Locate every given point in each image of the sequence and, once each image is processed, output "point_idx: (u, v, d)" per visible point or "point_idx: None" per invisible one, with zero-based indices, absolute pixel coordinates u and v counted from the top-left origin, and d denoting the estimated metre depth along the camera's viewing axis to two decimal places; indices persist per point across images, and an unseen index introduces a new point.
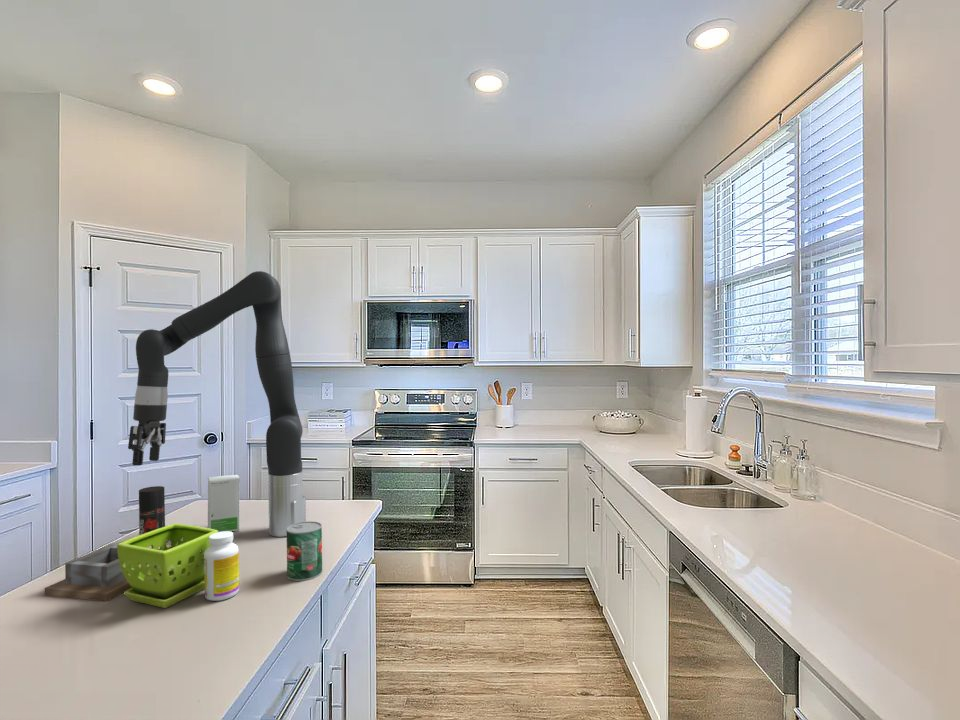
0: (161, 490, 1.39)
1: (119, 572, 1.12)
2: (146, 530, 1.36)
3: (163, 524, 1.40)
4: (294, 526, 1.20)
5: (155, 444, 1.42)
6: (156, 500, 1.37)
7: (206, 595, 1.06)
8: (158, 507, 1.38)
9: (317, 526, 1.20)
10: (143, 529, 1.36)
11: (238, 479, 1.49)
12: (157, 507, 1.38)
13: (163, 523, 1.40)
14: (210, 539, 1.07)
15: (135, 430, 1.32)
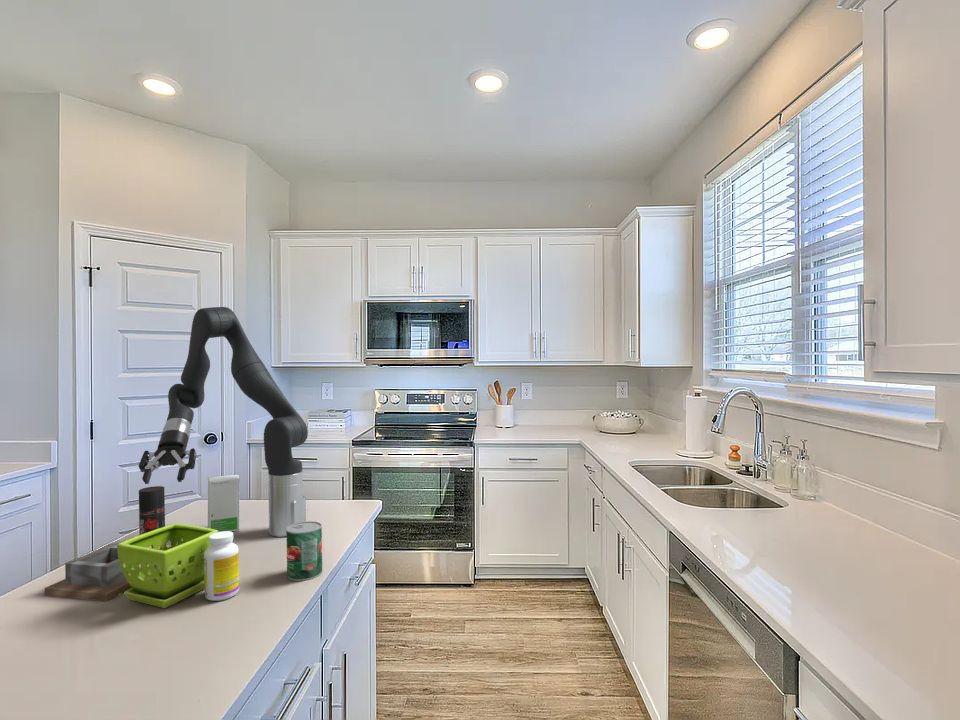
0: (161, 490, 1.39)
1: (119, 572, 1.12)
2: (146, 530, 1.36)
3: (163, 524, 1.40)
4: (294, 526, 1.20)
5: None
6: (156, 500, 1.37)
7: (206, 595, 1.06)
8: (158, 507, 1.38)
9: (317, 526, 1.20)
10: (143, 529, 1.36)
11: (238, 479, 1.49)
12: (157, 507, 1.38)
13: (163, 523, 1.40)
14: (210, 539, 1.07)
15: None
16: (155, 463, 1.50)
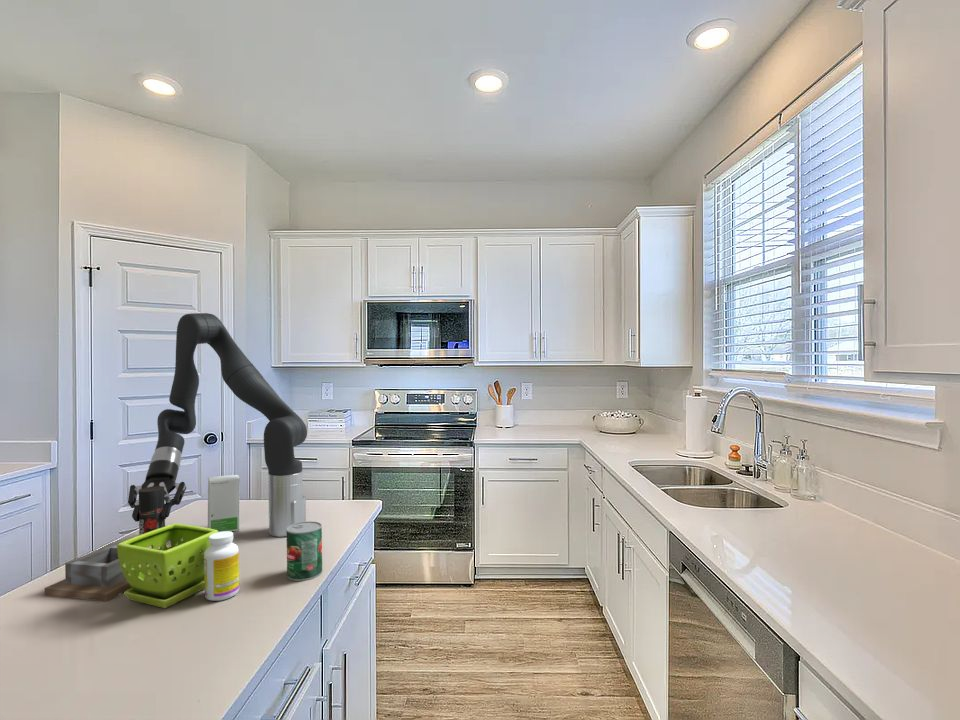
0: (161, 490, 1.39)
1: (119, 572, 1.12)
2: (146, 530, 1.36)
3: (163, 524, 1.40)
4: (294, 526, 1.20)
5: None
6: (156, 500, 1.37)
7: (206, 595, 1.06)
8: (158, 507, 1.38)
9: (317, 526, 1.20)
10: (143, 529, 1.36)
11: (238, 479, 1.49)
12: (157, 507, 1.38)
13: (163, 523, 1.40)
14: (210, 539, 1.07)
15: None
16: None
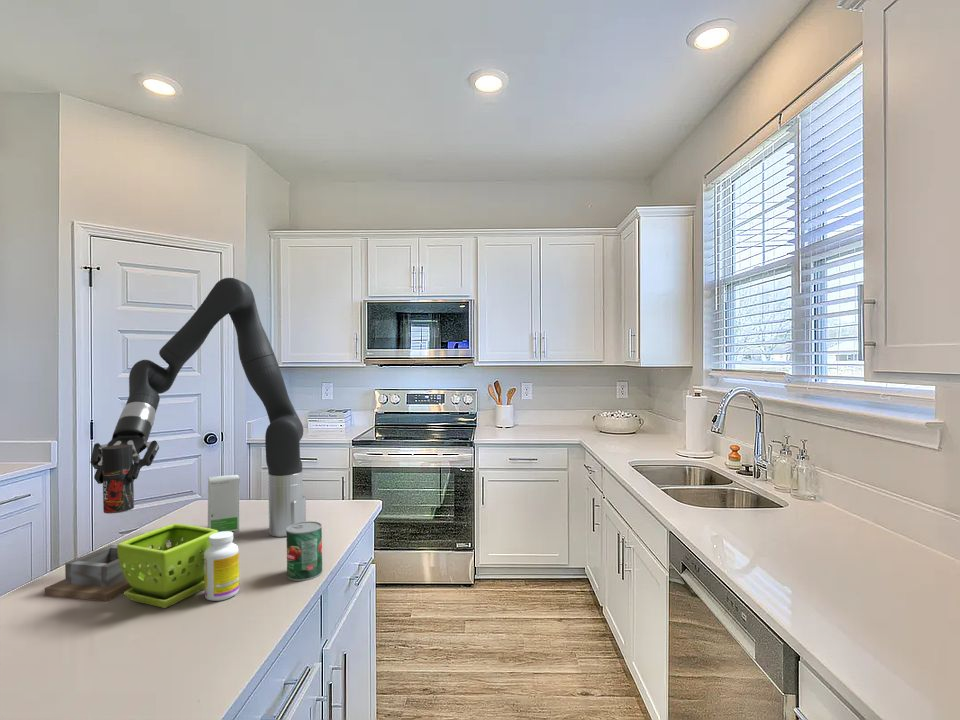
0: (128, 448, 1.21)
1: (119, 572, 1.12)
2: (110, 494, 1.18)
3: (131, 487, 1.21)
4: (294, 526, 1.20)
5: None
6: (121, 459, 1.19)
7: (206, 595, 1.06)
8: (124, 467, 1.20)
9: (317, 526, 1.20)
10: (107, 492, 1.18)
11: (238, 479, 1.49)
12: (123, 467, 1.20)
13: (131, 486, 1.21)
14: (210, 539, 1.07)
15: None
16: None
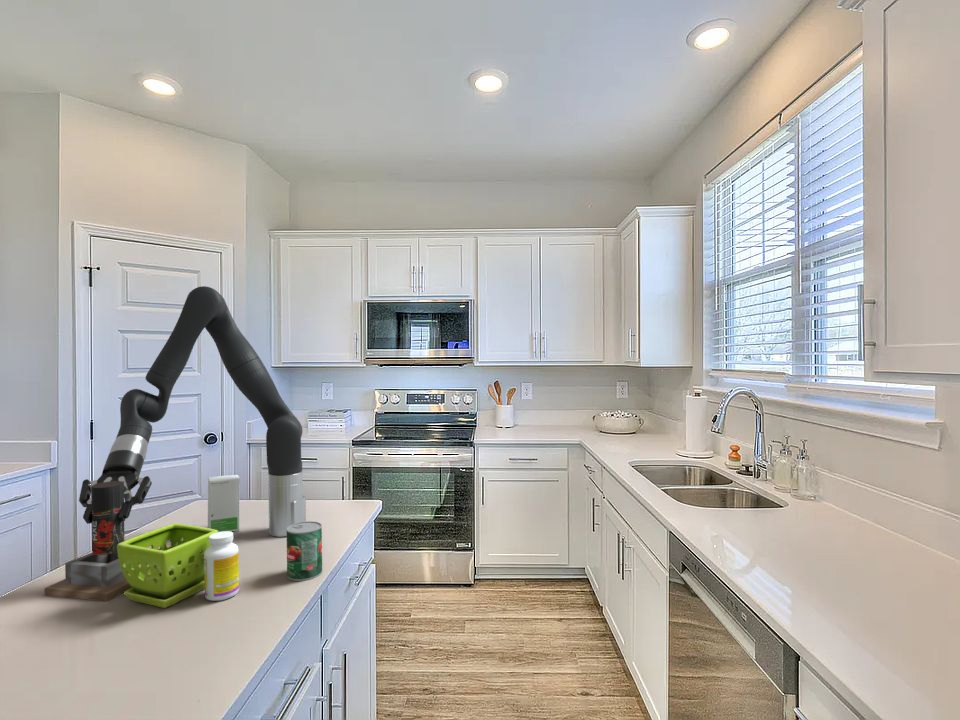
0: (119, 486, 1.15)
1: (119, 572, 1.12)
2: (100, 534, 1.13)
3: (121, 527, 1.16)
4: (294, 526, 1.20)
5: None
6: (112, 498, 1.14)
7: (206, 595, 1.06)
8: (115, 506, 1.14)
9: (317, 526, 1.20)
10: (96, 533, 1.13)
11: (238, 479, 1.49)
12: (114, 506, 1.14)
13: (121, 525, 1.16)
14: (210, 539, 1.07)
15: None
16: None
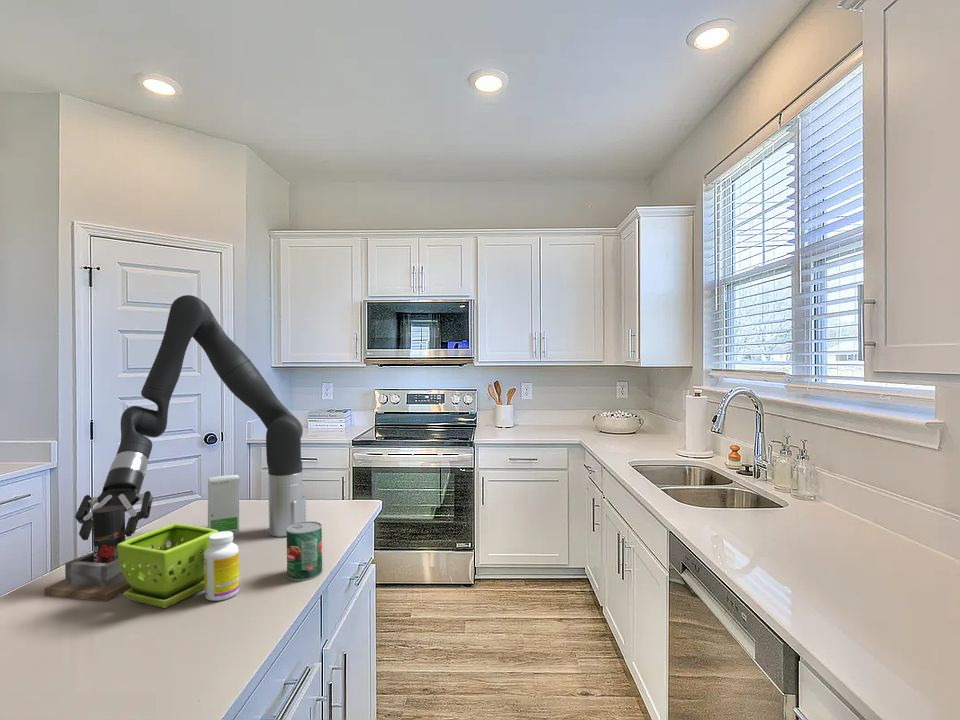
0: (120, 510, 1.15)
1: (119, 572, 1.12)
2: (101, 559, 1.13)
3: None
4: (294, 526, 1.20)
5: None
6: (113, 522, 1.14)
7: (206, 595, 1.06)
8: (116, 531, 1.15)
9: (317, 526, 1.20)
10: (97, 558, 1.13)
11: (238, 479, 1.49)
12: (114, 531, 1.14)
13: None
14: (210, 539, 1.07)
15: None
16: None
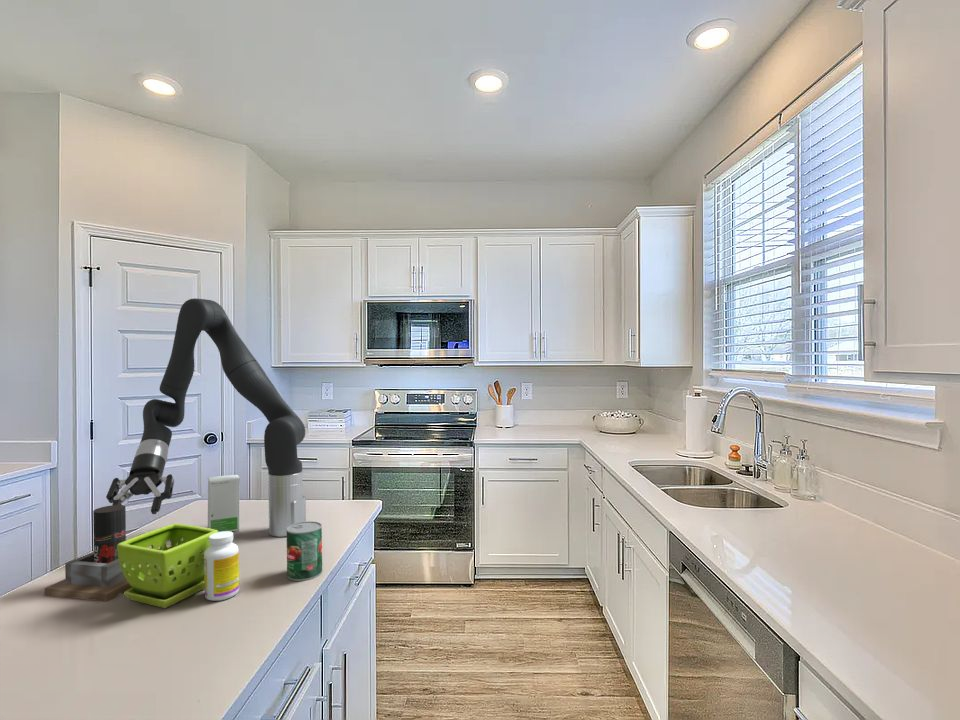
0: (120, 510, 1.15)
1: (119, 572, 1.12)
2: (101, 559, 1.13)
3: None
4: (294, 526, 1.20)
5: None
6: (113, 523, 1.14)
7: (206, 595, 1.06)
8: (116, 531, 1.15)
9: (317, 526, 1.20)
10: (98, 558, 1.13)
11: (238, 479, 1.49)
12: (115, 531, 1.14)
13: None
14: (210, 539, 1.07)
15: None
16: (126, 493, 1.31)
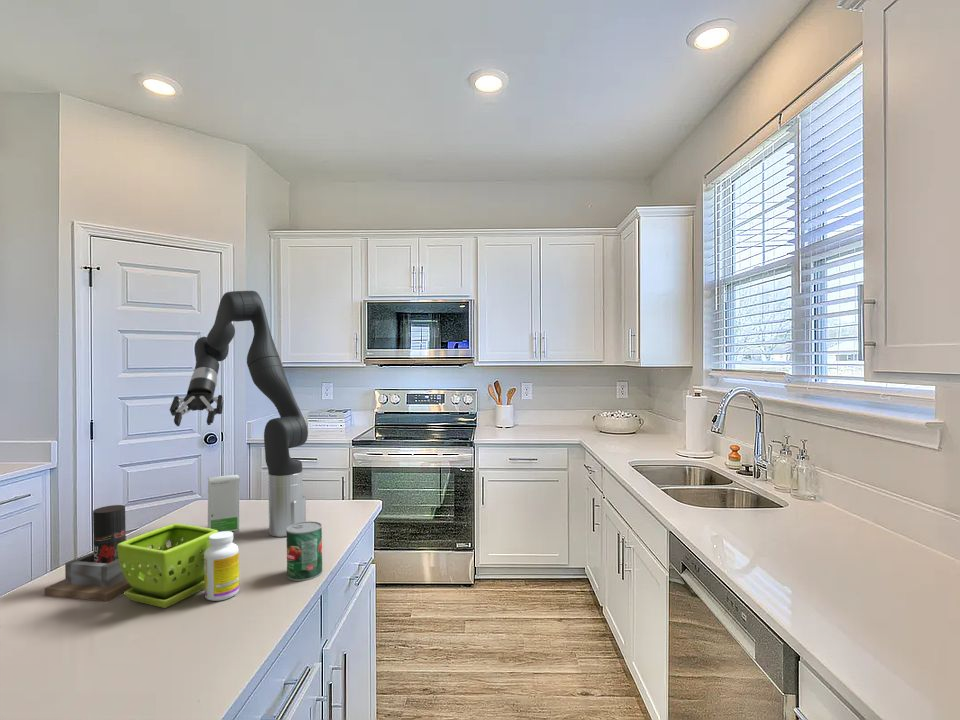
0: (120, 510, 1.15)
1: (119, 572, 1.12)
2: (101, 559, 1.13)
3: None
4: (294, 526, 1.20)
5: None
6: (113, 523, 1.14)
7: (206, 595, 1.06)
8: (116, 531, 1.14)
9: (317, 526, 1.20)
10: (98, 558, 1.13)
11: (238, 479, 1.49)
12: (115, 531, 1.14)
13: None
14: (210, 539, 1.07)
15: None
16: (185, 407, 1.57)
